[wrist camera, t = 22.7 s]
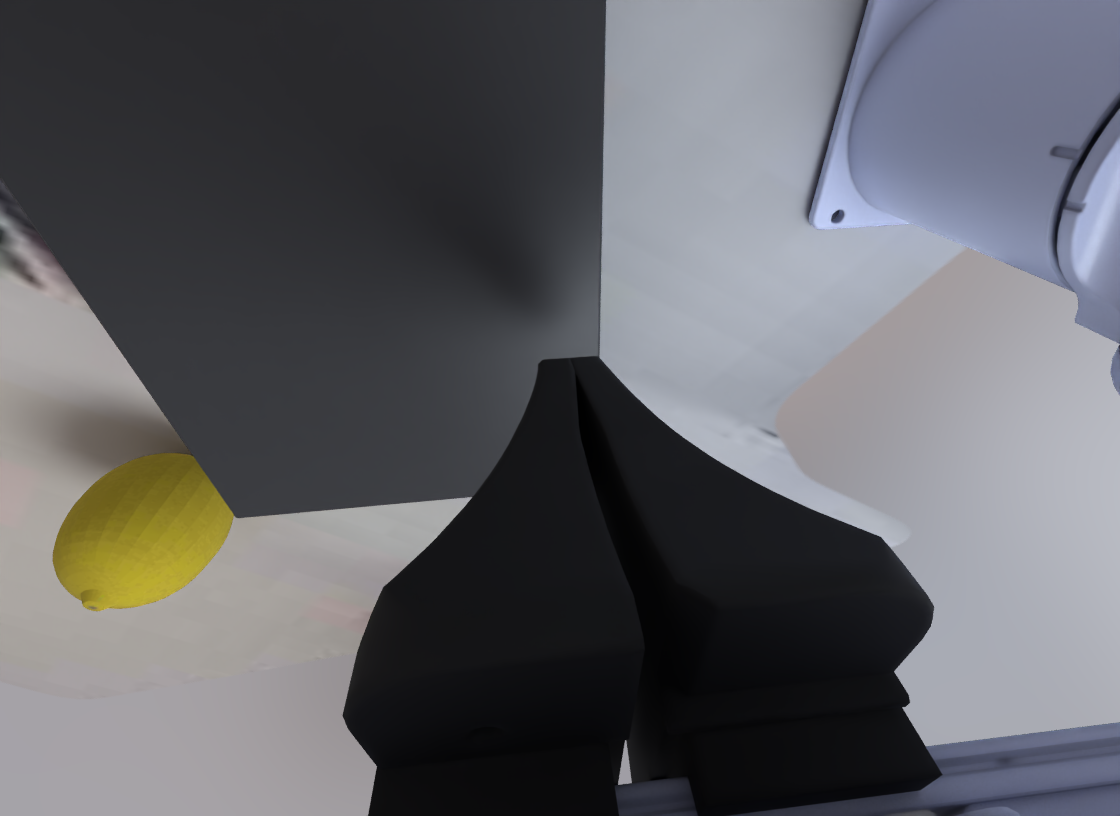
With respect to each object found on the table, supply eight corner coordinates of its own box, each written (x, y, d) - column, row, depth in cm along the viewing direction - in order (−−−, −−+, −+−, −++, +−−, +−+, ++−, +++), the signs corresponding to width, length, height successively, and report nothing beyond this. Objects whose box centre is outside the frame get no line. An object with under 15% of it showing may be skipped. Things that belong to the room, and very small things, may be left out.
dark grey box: (125, -24, 13) (-188, -87, 7) (565, -40, 14) (608, -110, 8) (309, 392, 22) (235, 519, 16) (573, 372, 23) (597, 486, 17)
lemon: (116, 459, 24) (-28, 610, 17) (173, 400, 22) (36, 543, 15) (224, 512, 26) (135, 658, 20) (283, 463, 25) (205, 605, 18)
